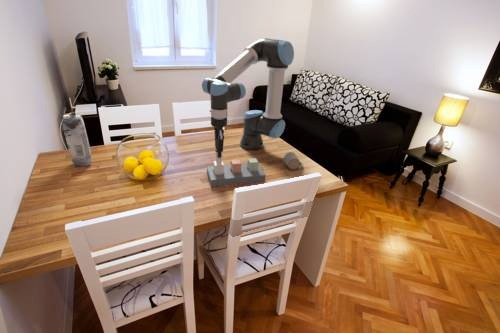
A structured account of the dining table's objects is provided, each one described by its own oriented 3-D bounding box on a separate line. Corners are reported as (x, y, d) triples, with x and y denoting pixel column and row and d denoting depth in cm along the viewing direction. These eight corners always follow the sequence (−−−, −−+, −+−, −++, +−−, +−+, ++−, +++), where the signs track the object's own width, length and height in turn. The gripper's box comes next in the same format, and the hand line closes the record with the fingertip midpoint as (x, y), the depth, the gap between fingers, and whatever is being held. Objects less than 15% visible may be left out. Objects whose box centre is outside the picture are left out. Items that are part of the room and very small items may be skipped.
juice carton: (92, 157, 155) (81, 110, 142) (92, 166, 147) (81, 117, 134) (74, 160, 151) (61, 112, 138) (73, 169, 143) (59, 119, 130)
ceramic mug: (287, 170, 156) (289, 158, 152) (282, 163, 162) (284, 152, 159) (304, 169, 158) (307, 157, 154) (299, 163, 165) (301, 151, 161)
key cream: (213, 173, 143) (213, 161, 140) (221, 172, 145) (222, 160, 141) (215, 177, 140) (215, 165, 136) (223, 176, 141) (223, 164, 138)
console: (206, 173, 148) (206, 166, 146) (256, 168, 155) (257, 162, 153) (211, 187, 136) (211, 180, 134) (264, 181, 144) (265, 174, 142)
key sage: (247, 170, 148) (247, 158, 145) (254, 169, 150) (255, 158, 146) (249, 174, 145) (250, 162, 141) (257, 173, 146) (258, 162, 143)
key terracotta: (230, 171, 146) (230, 160, 143) (238, 171, 147) (239, 159, 144) (232, 176, 142) (232, 164, 139) (240, 175, 143) (241, 163, 140)
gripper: (208, 112, 132) (209, 157, 143) (213, 122, 121) (213, 169, 132) (224, 112, 134) (223, 155, 145) (230, 121, 123) (229, 167, 134)
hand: (218, 162), depth 139 cm, fingers closed
